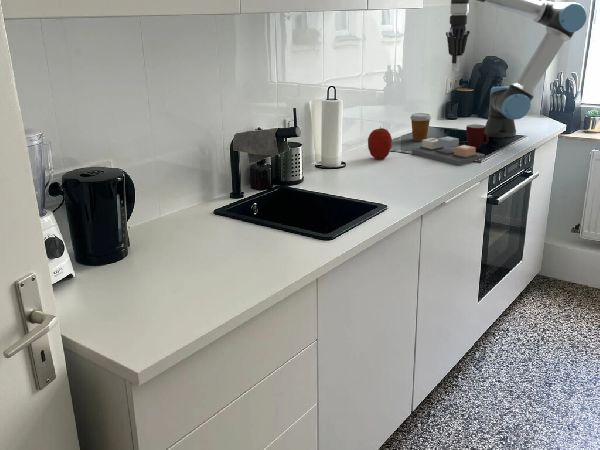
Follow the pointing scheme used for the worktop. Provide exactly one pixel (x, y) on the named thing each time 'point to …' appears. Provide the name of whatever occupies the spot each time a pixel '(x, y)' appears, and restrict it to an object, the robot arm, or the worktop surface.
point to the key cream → (430, 143)
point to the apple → (379, 143)
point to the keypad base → (446, 155)
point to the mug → (476, 135)
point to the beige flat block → (464, 150)
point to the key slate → (448, 142)
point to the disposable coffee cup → (420, 126)
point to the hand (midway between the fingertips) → (455, 70)
